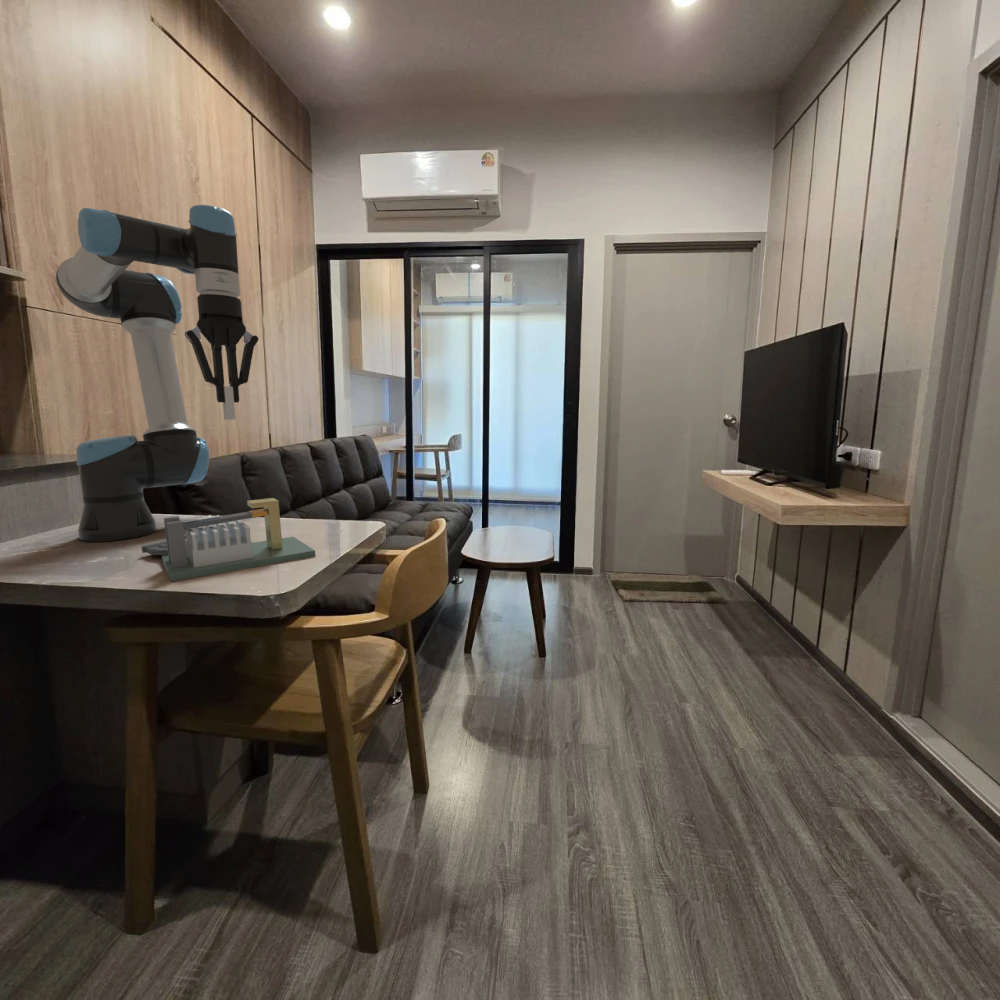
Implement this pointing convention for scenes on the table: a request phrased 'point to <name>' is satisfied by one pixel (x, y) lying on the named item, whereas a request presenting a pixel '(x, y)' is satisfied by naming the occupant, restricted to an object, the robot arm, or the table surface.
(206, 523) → the strap
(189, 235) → the robot arm
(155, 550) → the graphics card
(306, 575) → the table surface
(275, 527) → the block
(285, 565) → the table surface
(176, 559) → the board
